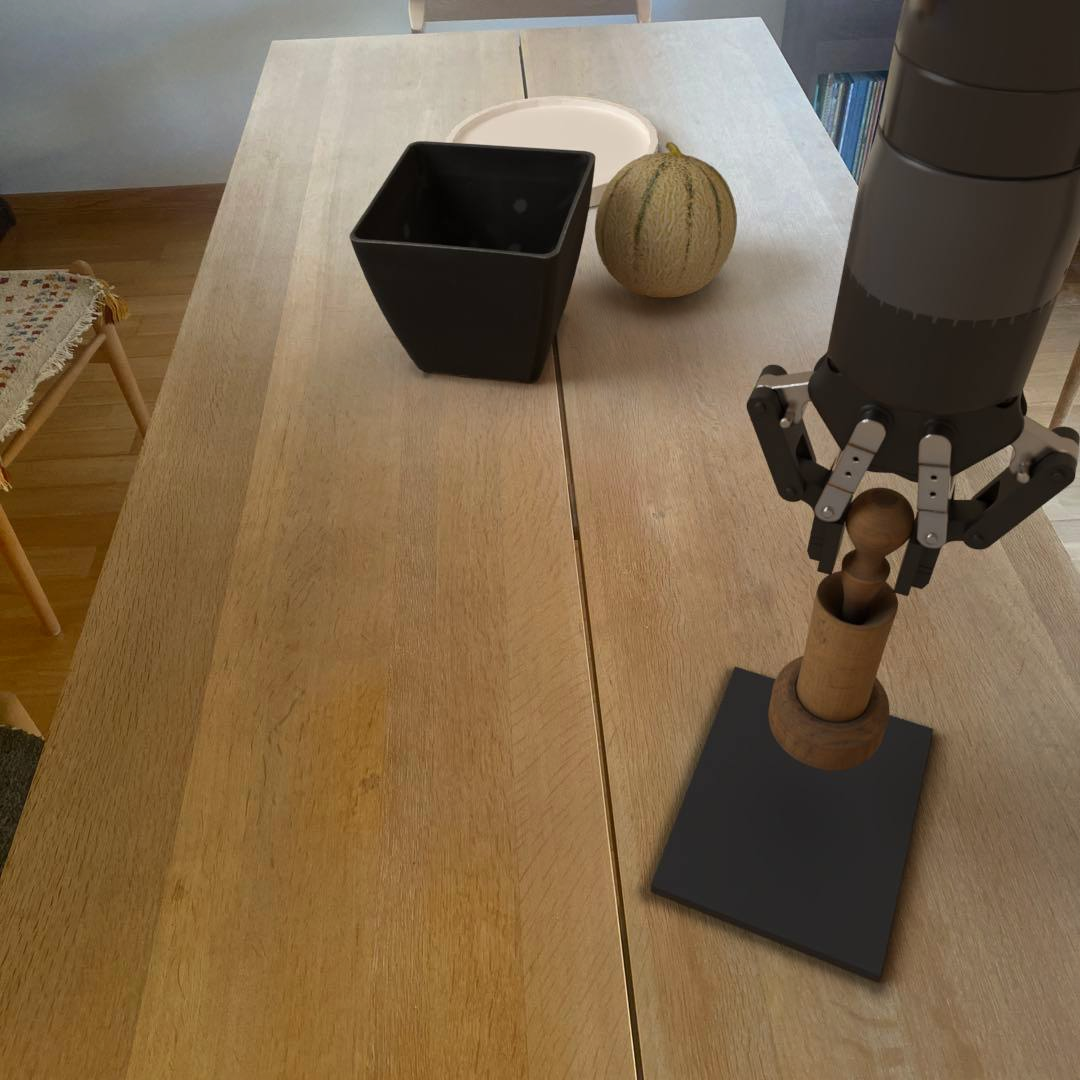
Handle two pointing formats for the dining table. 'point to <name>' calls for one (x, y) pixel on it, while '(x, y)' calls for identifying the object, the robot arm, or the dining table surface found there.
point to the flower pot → (476, 253)
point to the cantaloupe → (665, 224)
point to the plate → (565, 131)
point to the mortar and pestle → (845, 646)
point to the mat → (795, 835)
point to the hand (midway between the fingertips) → (866, 570)
